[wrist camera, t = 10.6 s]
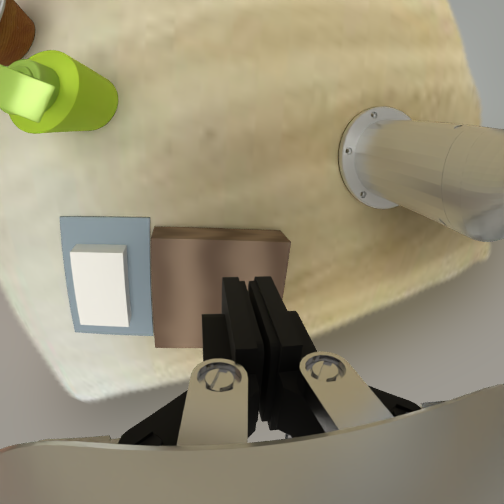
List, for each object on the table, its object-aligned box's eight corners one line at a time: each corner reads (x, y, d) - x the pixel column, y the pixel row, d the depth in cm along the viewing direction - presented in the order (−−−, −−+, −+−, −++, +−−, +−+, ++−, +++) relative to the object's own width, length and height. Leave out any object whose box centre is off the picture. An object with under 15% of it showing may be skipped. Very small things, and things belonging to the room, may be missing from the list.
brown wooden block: (280, 230, 37) (290, 242, 33) (266, 327, 42) (274, 345, 38) (154, 226, 34) (150, 238, 30) (156, 328, 38) (155, 347, 35)
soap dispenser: (110, 143, 30) (19, 164, 12) (57, 118, 28) (-64, 121, 9) (136, 92, 29) (73, 45, 10) (82, 69, 26) (-20, 16, 8)
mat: (149, 217, 34) (149, 218, 33) (153, 334, 39) (153, 335, 38) (60, 216, 31) (59, 217, 31) (75, 330, 36) (75, 332, 36)
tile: (69, 252, 30) (76, 243, 32) (80, 324, 33) (85, 313, 36) (122, 253, 31) (126, 244, 34) (128, 326, 35) (131, 315, 37)
